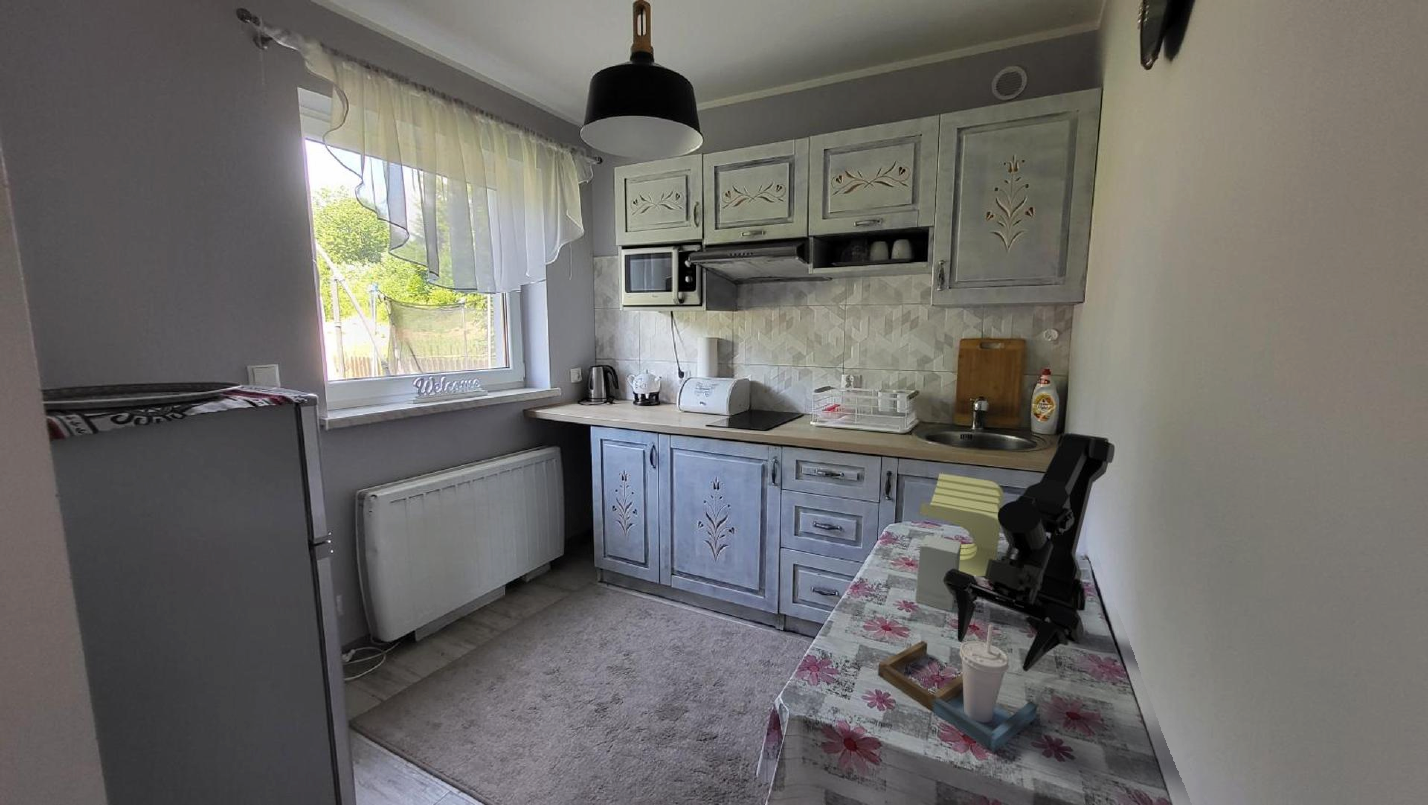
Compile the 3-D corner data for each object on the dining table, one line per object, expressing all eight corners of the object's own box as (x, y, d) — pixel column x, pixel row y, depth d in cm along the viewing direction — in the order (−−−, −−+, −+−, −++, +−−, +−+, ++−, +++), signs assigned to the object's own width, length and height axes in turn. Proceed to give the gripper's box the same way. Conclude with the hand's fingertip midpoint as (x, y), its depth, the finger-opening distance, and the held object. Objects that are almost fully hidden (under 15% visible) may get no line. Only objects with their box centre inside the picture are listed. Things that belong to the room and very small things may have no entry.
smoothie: (1011, 729, 74) (1022, 638, 73) (968, 730, 74) (978, 638, 72) (986, 697, 81) (995, 613, 79) (946, 698, 80) (954, 613, 78)
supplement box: (952, 612, 106) (957, 553, 104) (913, 601, 110) (918, 544, 108) (957, 597, 112) (962, 541, 110) (920, 587, 116) (925, 533, 114)
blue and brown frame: (921, 651, 93) (922, 640, 92) (1035, 717, 77) (1037, 705, 77) (877, 675, 86) (878, 664, 86) (993, 753, 70) (995, 739, 70)
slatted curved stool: (992, 595, 113) (1000, 517, 111) (914, 576, 121) (921, 502, 119) (998, 547, 139) (1005, 483, 136) (934, 534, 147) (939, 473, 144)
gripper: (953, 521, 86) (915, 607, 80) (1088, 560, 72) (1054, 666, 67) (968, 553, 92) (934, 634, 87) (1095, 594, 79) (1065, 694, 73)
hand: (990, 654), depth 78 cm, fingers open, 9 cm apart
